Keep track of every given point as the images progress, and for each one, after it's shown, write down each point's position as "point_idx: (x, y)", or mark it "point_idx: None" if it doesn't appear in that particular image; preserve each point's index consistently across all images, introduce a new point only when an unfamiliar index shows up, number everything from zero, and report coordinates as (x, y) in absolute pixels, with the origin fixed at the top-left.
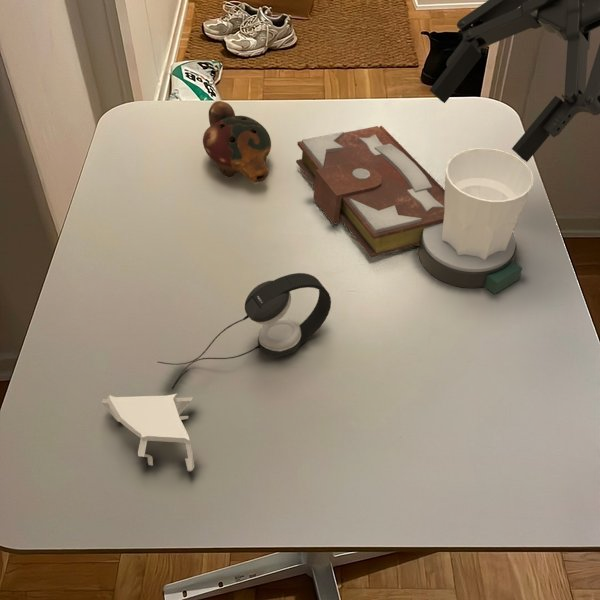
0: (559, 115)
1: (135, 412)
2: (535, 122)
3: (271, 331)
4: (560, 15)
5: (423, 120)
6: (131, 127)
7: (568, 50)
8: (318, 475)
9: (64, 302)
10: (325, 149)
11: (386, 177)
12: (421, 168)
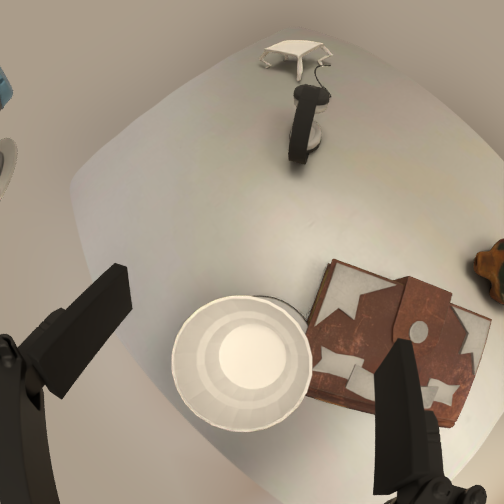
0: (39, 336)
1: (302, 43)
2: (81, 307)
3: (311, 128)
4: None
5: None
6: None
7: (24, 490)
8: (206, 101)
9: (425, 97)
10: (469, 332)
11: None
12: None
